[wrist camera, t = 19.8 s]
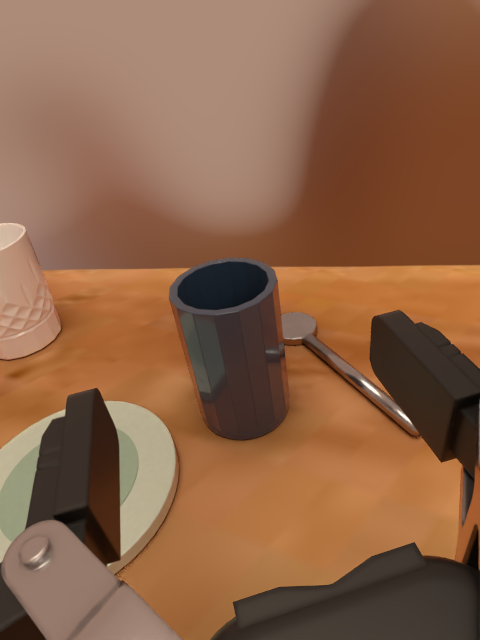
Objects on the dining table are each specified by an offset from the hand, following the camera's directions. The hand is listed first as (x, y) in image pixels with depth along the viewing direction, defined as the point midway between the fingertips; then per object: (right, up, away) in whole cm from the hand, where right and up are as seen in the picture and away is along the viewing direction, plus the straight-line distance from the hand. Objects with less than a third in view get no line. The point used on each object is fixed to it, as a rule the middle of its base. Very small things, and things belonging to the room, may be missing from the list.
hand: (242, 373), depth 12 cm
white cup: (-21, 0, +29) cm, 36 cm away
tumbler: (0, -4, +18) cm, 19 cm away
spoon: (+7, -2, +20) cm, 21 cm away
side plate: (-10, -9, +14) cm, 20 cm away
